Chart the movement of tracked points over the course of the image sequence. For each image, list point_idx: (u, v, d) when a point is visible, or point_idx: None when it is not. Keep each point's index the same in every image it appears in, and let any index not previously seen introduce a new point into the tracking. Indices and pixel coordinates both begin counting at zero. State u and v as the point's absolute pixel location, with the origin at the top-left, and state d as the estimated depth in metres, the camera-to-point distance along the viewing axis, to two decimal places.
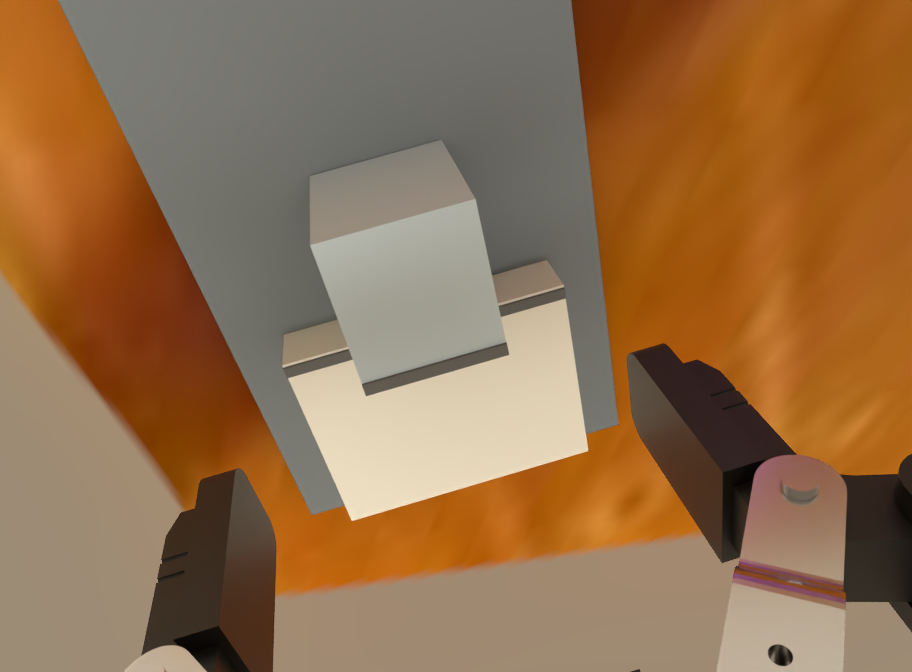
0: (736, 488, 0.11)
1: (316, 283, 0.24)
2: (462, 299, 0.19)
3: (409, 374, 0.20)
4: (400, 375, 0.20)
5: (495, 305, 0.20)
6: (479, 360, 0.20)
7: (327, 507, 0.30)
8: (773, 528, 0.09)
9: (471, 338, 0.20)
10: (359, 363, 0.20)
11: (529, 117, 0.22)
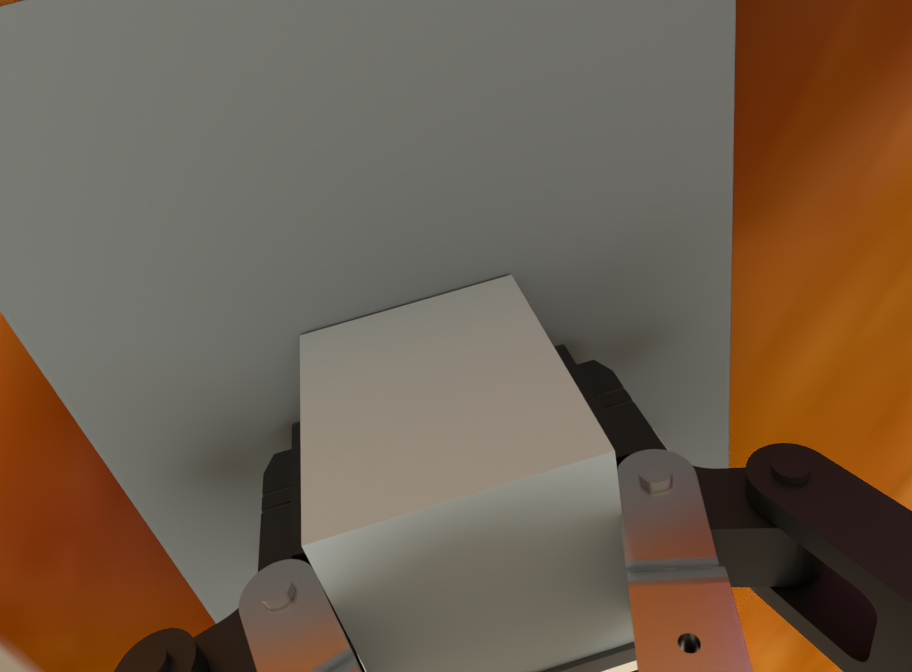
0: None
1: None
2: (571, 595, 0.11)
3: None
4: None
5: (626, 596, 0.11)
6: (589, 671, 0.12)
7: None
8: (624, 517, 0.10)
9: (580, 642, 0.12)
10: None
11: (649, 236, 0.14)
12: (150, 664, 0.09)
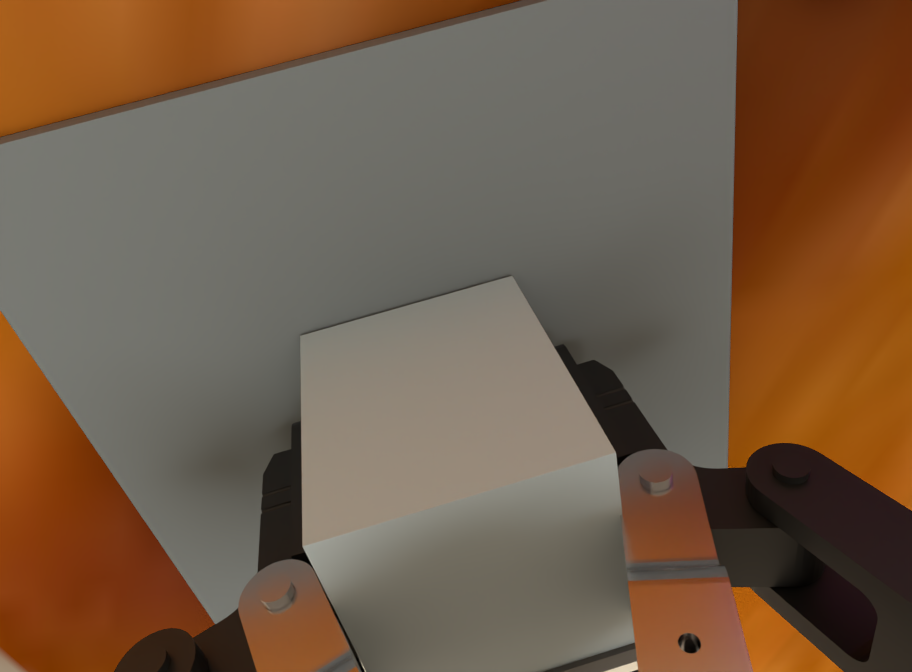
0: None
1: None
2: (572, 596, 0.11)
3: None
4: None
5: (626, 598, 0.11)
6: None
7: None
8: (624, 517, 0.10)
9: (579, 644, 0.12)
10: None
11: (654, 310, 0.15)
12: (150, 664, 0.09)
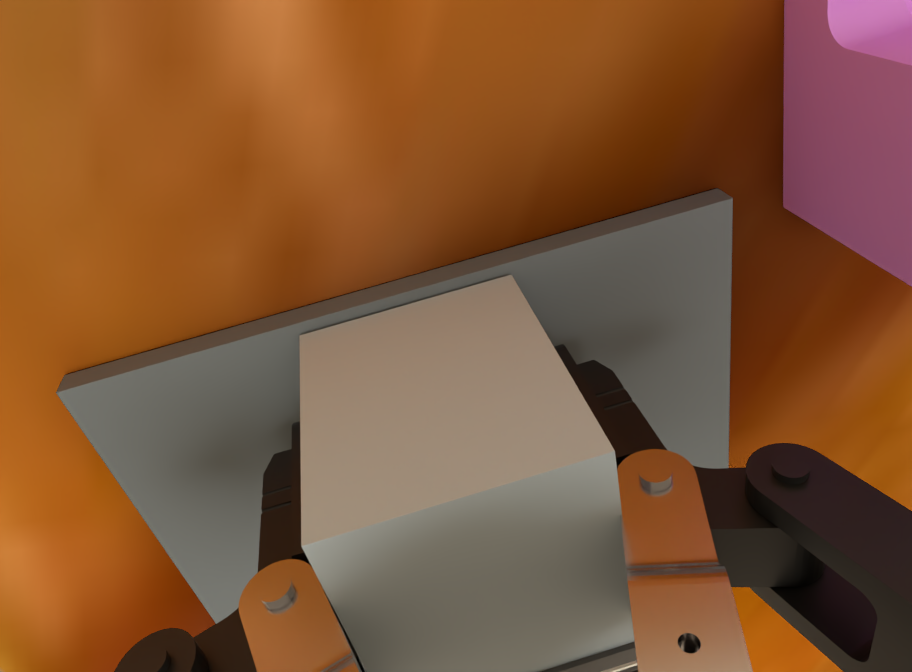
0: None
1: None
2: (571, 594, 0.11)
3: None
4: None
5: (626, 596, 0.11)
6: (589, 671, 0.12)
7: None
8: (624, 517, 0.10)
9: (580, 642, 0.12)
10: None
11: None
12: (150, 664, 0.09)
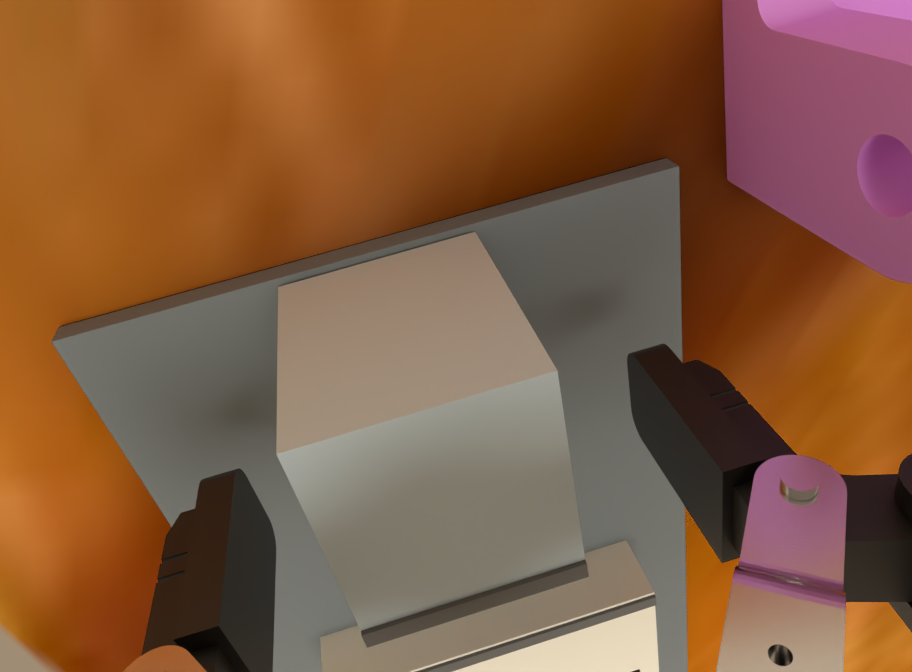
0: (736, 488, 0.11)
1: None
2: (524, 510, 0.12)
3: (435, 612, 0.13)
4: (421, 616, 0.13)
5: (574, 514, 0.12)
6: (542, 587, 0.13)
7: None
8: (773, 528, 0.09)
9: (533, 559, 0.13)
10: (357, 606, 0.12)
11: (621, 414, 0.19)
12: None
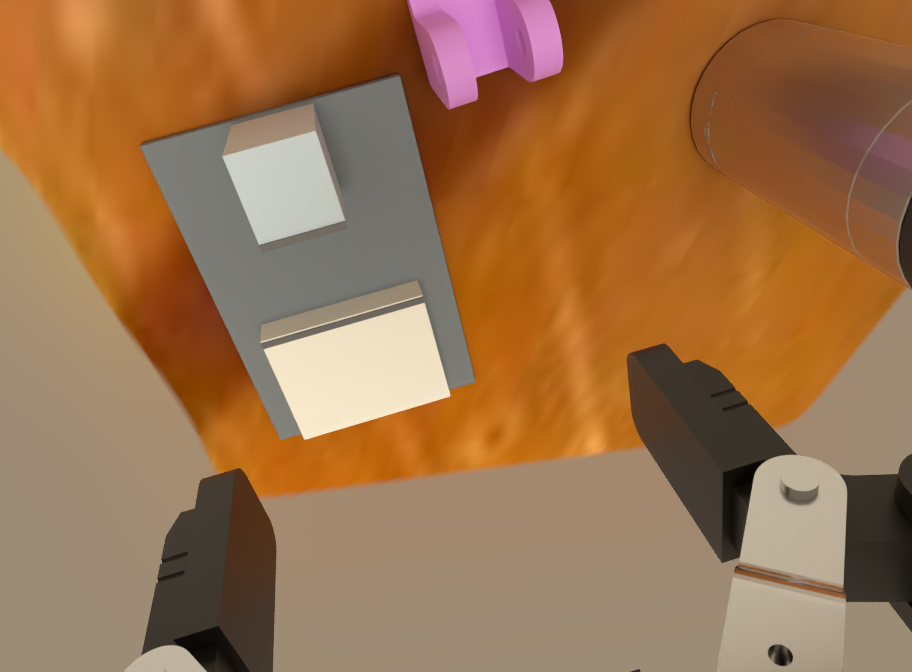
0: (736, 488, 0.11)
1: (280, 294, 0.42)
2: (315, 192, 0.33)
3: (287, 239, 0.34)
4: (282, 240, 0.34)
5: (335, 196, 0.33)
6: (329, 231, 0.34)
7: (290, 435, 0.47)
8: (773, 528, 0.09)
9: (323, 217, 0.34)
10: (256, 231, 0.34)
11: (398, 201, 0.40)
12: None
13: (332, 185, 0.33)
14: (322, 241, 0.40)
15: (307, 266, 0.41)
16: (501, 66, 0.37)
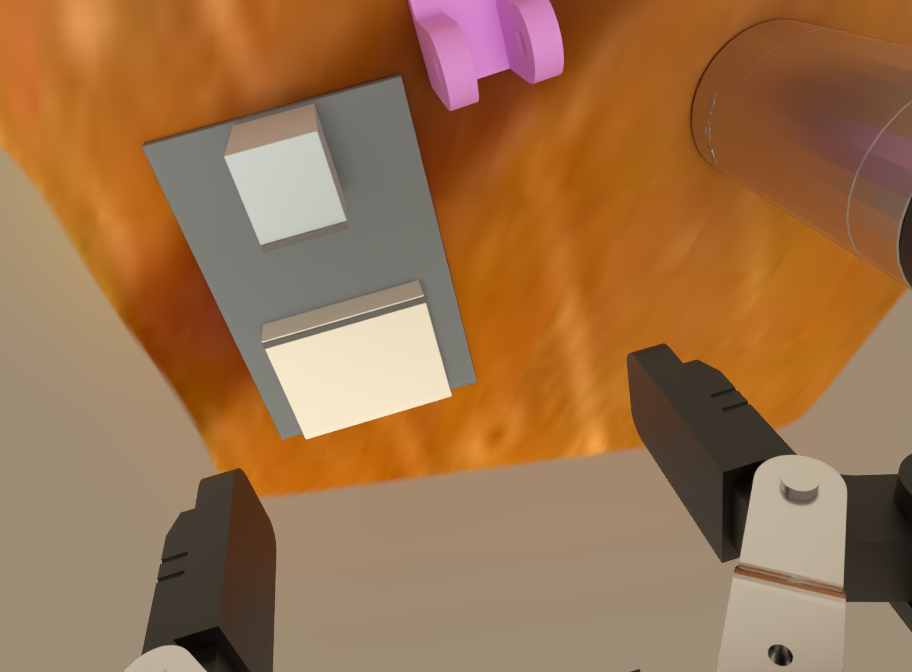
0: (736, 488, 0.11)
1: (281, 294, 0.42)
2: (316, 192, 0.33)
3: (289, 240, 0.34)
4: (283, 240, 0.34)
5: (336, 196, 0.34)
6: (330, 231, 0.34)
7: (292, 434, 0.47)
8: (773, 528, 0.09)
9: (324, 217, 0.34)
10: (258, 231, 0.34)
11: (400, 201, 0.40)
12: None
13: (333, 185, 0.33)
14: (323, 241, 0.40)
15: (308, 266, 0.41)
16: (502, 68, 0.37)
